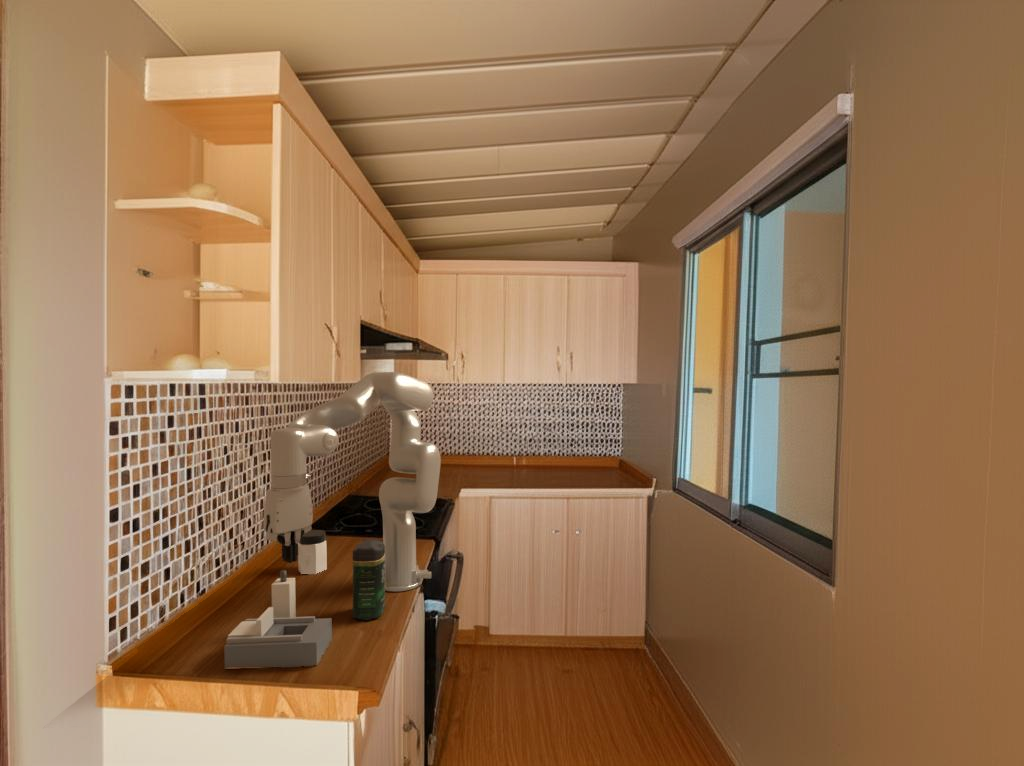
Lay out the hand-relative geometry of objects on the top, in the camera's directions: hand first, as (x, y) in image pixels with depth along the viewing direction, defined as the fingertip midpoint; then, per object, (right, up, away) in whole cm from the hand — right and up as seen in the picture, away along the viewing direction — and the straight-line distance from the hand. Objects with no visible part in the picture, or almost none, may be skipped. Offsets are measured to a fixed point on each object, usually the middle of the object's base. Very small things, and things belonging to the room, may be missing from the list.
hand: (290, 560), depth 127 cm
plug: (-4, -19, +7) cm, 21 cm away
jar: (-13, -19, +49) cm, 55 cm away
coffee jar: (+14, -19, +16) cm, 29 cm away
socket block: (0, -19, -5) cm, 20 cm away
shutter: (-6, -14, -5) cm, 16 cm away
